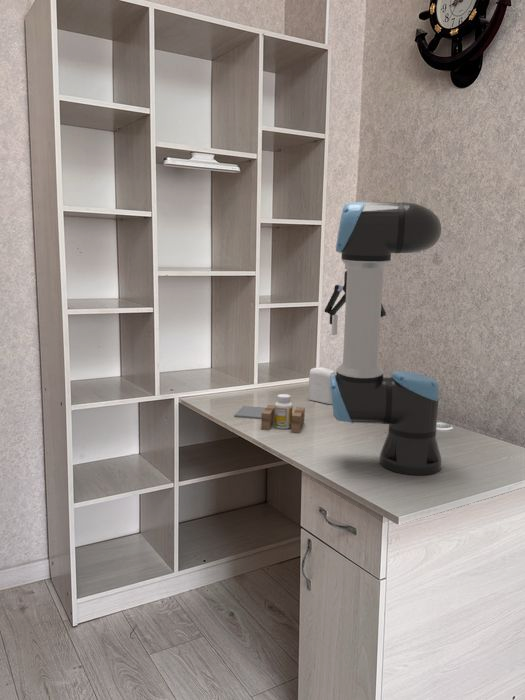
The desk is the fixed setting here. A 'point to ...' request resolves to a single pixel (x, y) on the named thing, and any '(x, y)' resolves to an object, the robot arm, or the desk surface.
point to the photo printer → (320, 385)
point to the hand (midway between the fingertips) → (353, 336)
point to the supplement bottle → (283, 411)
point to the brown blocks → (269, 418)
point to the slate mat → (250, 412)
